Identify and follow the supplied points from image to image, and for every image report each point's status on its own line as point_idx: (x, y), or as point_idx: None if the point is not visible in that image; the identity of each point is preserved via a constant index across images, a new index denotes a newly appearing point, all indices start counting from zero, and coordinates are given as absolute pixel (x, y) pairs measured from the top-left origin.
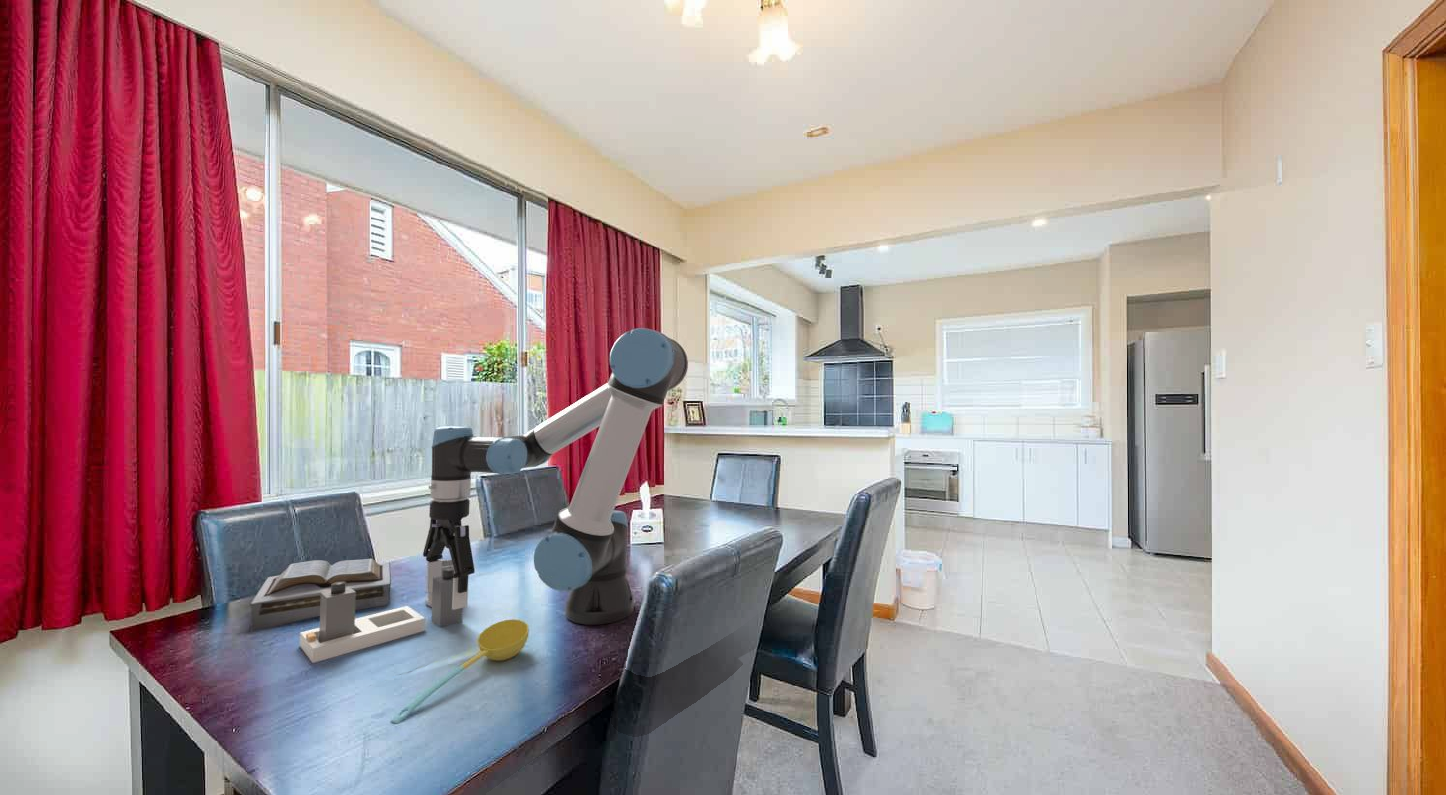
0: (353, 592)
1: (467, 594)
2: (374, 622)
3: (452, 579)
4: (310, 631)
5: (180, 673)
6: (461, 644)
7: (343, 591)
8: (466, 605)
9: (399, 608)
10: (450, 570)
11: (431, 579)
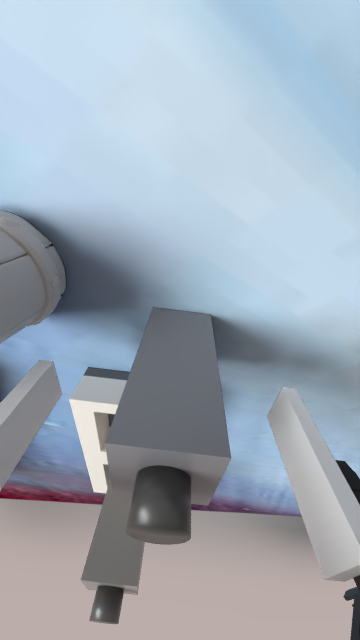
0: (137, 586)
1: (316, 429)
2: (103, 433)
3: (208, 482)
4: (99, 488)
5: (84, 498)
6: (308, 366)
7: (120, 591)
8: (296, 392)
9: (78, 412)
10: (174, 535)
11: (29, 431)
